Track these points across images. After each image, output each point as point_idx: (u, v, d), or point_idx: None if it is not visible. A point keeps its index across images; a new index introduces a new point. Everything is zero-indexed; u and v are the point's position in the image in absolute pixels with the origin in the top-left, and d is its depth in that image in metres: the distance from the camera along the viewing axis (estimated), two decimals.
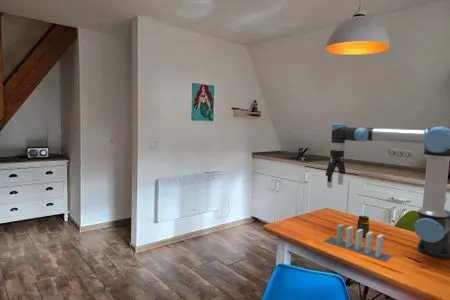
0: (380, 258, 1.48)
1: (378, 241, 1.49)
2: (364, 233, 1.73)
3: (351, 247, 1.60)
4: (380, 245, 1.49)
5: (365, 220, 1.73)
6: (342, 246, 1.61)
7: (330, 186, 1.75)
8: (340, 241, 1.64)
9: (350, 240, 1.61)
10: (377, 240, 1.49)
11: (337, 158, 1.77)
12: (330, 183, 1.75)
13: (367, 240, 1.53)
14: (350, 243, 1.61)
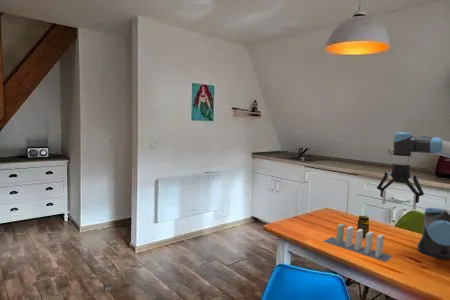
0: (380, 258, 1.48)
1: (378, 241, 1.49)
2: (364, 233, 1.73)
3: (351, 247, 1.60)
4: (380, 245, 1.49)
5: (365, 220, 1.73)
6: (342, 246, 1.61)
7: None
8: (340, 241, 1.64)
9: (350, 240, 1.61)
10: (377, 240, 1.49)
11: (396, 173, 1.51)
12: None
13: (367, 240, 1.53)
14: (350, 243, 1.61)
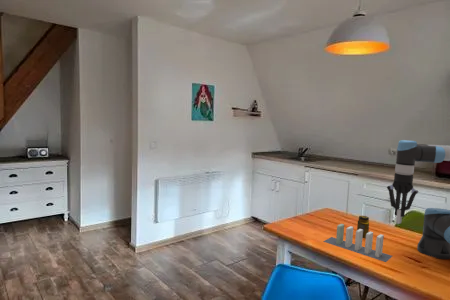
0: (380, 258, 1.48)
1: (378, 241, 1.49)
2: (364, 233, 1.73)
3: (351, 247, 1.60)
4: (380, 245, 1.49)
5: (365, 220, 1.73)
6: (342, 246, 1.61)
7: None
8: (340, 241, 1.64)
9: (350, 240, 1.61)
10: (377, 240, 1.49)
11: None
12: None
13: (367, 240, 1.53)
14: (350, 243, 1.61)
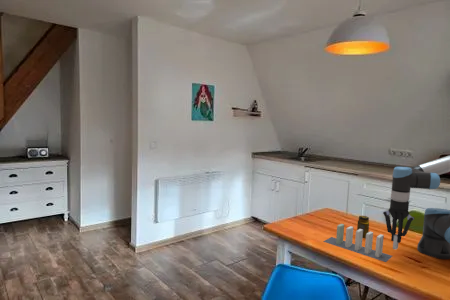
0: (380, 258, 1.48)
1: (378, 241, 1.49)
2: (364, 233, 1.73)
3: (351, 247, 1.60)
4: (380, 245, 1.49)
5: (365, 220, 1.73)
6: (342, 246, 1.61)
7: None
8: (340, 241, 1.64)
9: (350, 240, 1.61)
10: (377, 240, 1.49)
11: None
12: None
13: (367, 240, 1.53)
14: (350, 243, 1.61)
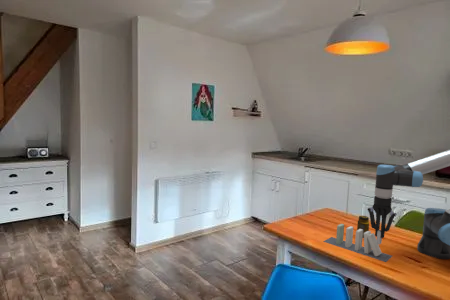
0: (380, 258, 1.48)
1: (370, 239, 1.51)
2: None
3: (351, 247, 1.60)
4: (374, 243, 1.51)
5: (365, 220, 1.73)
6: (342, 246, 1.61)
7: None
8: (340, 241, 1.64)
9: (350, 240, 1.61)
10: (369, 239, 1.52)
11: (376, 203, 1.50)
12: None
13: (365, 239, 1.53)
14: (350, 243, 1.61)
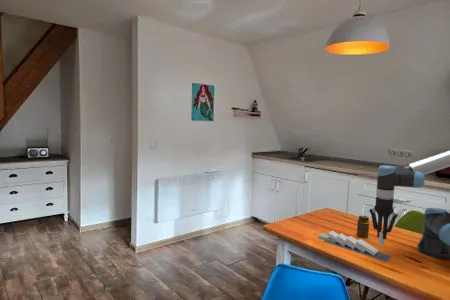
0: (380, 258, 1.48)
1: (359, 244, 1.55)
2: (364, 233, 1.73)
3: None
4: (365, 245, 1.55)
5: (365, 220, 1.73)
6: (342, 246, 1.61)
7: None
8: None
9: None
10: (358, 245, 1.56)
11: (377, 204, 1.50)
12: None
13: (351, 243, 1.58)
14: None
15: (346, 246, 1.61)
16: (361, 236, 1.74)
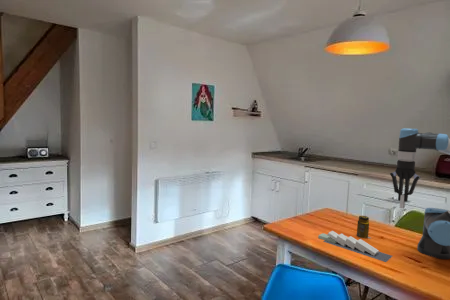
0: (380, 258, 1.48)
1: (359, 244, 1.55)
2: (364, 233, 1.73)
3: None
4: (365, 245, 1.55)
5: (365, 220, 1.73)
6: (342, 246, 1.61)
7: None
8: None
9: None
10: (358, 245, 1.56)
11: None
12: None
13: (351, 243, 1.58)
14: None
15: (346, 246, 1.61)
16: (361, 236, 1.74)
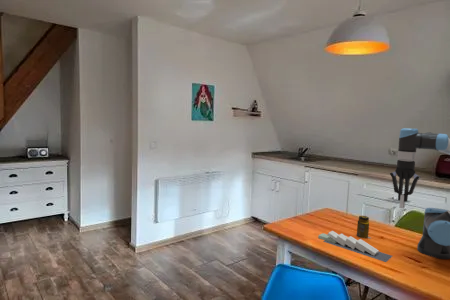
0: (380, 258, 1.48)
1: (359, 244, 1.55)
2: (364, 233, 1.73)
3: None
4: (365, 245, 1.55)
5: (365, 220, 1.73)
6: (342, 246, 1.61)
7: None
8: None
9: None
10: (358, 245, 1.56)
11: None
12: None
13: (351, 243, 1.58)
14: None
15: (346, 246, 1.61)
16: (361, 236, 1.74)
